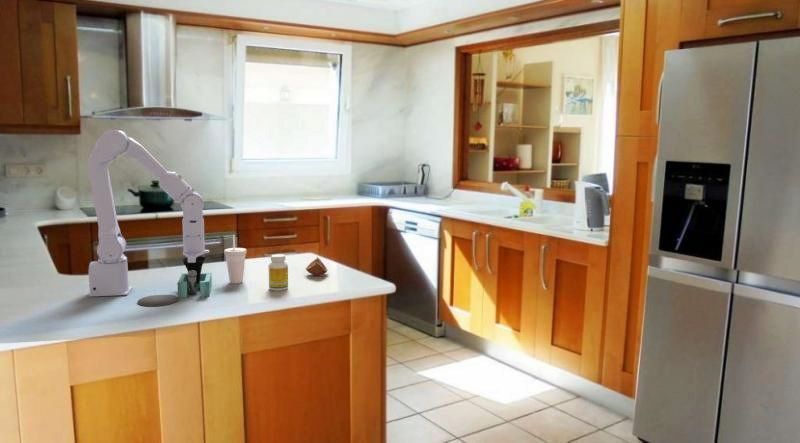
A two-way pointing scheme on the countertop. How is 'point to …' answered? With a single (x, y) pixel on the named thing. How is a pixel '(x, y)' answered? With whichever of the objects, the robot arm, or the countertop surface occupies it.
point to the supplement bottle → (278, 273)
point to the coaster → (158, 300)
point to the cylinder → (192, 282)
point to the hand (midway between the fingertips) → (195, 282)
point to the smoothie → (235, 263)
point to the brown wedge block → (316, 267)
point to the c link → (204, 284)
